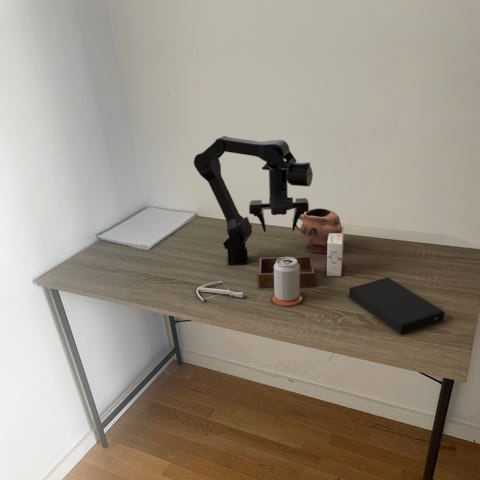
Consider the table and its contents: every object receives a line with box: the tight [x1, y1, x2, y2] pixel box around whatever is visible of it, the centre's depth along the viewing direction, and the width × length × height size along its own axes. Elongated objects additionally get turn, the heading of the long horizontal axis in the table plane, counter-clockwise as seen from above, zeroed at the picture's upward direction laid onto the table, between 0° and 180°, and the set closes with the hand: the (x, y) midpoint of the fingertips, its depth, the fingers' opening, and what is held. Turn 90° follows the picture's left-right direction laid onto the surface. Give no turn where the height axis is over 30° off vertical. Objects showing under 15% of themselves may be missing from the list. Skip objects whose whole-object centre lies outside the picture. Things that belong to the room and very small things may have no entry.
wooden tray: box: [258, 255, 316, 289], centre depth 151 cm, size 17×12×5 cm
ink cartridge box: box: [326, 227, 345, 277], centre depth 151 cm, size 9×5×15 cm, turn 168°
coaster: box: [272, 292, 303, 307], centre depth 141 cm, size 9×9×1 cm
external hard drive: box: [348, 277, 445, 336], centre depth 132 cm, size 14×23×3 cm, turn 24°
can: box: [273, 256, 300, 302], centre depth 138 cm, size 8×8×12 cm
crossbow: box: [195, 280, 245, 302], centre depth 146 cm, size 16×13×2 cm
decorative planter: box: [295, 207, 345, 254], centre depth 168 cm, size 20×12×14 cm, turn 60°
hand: (279, 231), depth 153 cm, fingers open, 9 cm apart
